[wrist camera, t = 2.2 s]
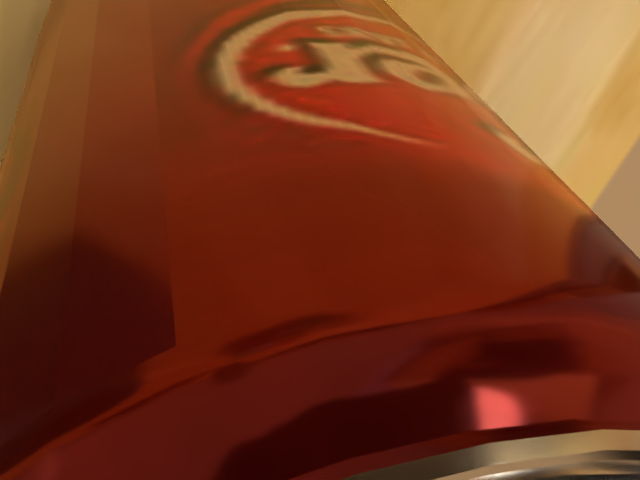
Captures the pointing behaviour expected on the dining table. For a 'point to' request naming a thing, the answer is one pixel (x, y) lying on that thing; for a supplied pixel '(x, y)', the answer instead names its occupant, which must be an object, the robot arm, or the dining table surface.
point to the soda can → (295, 261)
